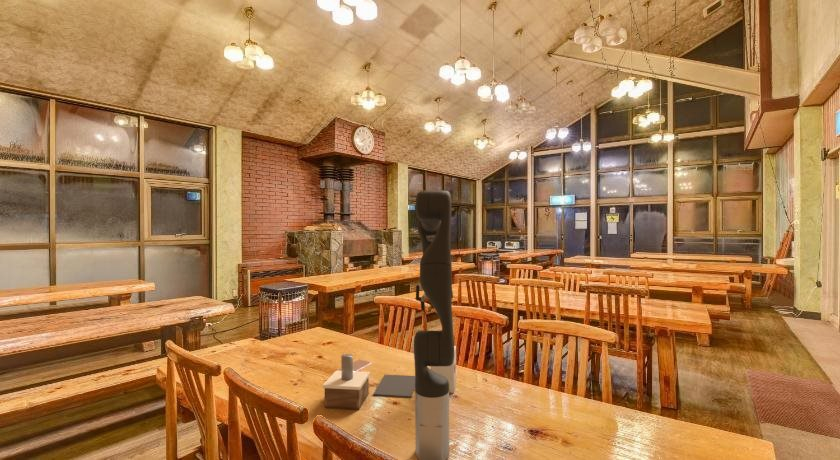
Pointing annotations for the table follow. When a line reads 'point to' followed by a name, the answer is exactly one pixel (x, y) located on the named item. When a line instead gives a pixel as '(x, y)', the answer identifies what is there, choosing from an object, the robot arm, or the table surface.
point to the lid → (347, 376)
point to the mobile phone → (359, 365)
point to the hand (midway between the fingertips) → (435, 310)
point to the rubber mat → (396, 386)
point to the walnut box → (346, 397)
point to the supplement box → (448, 372)
